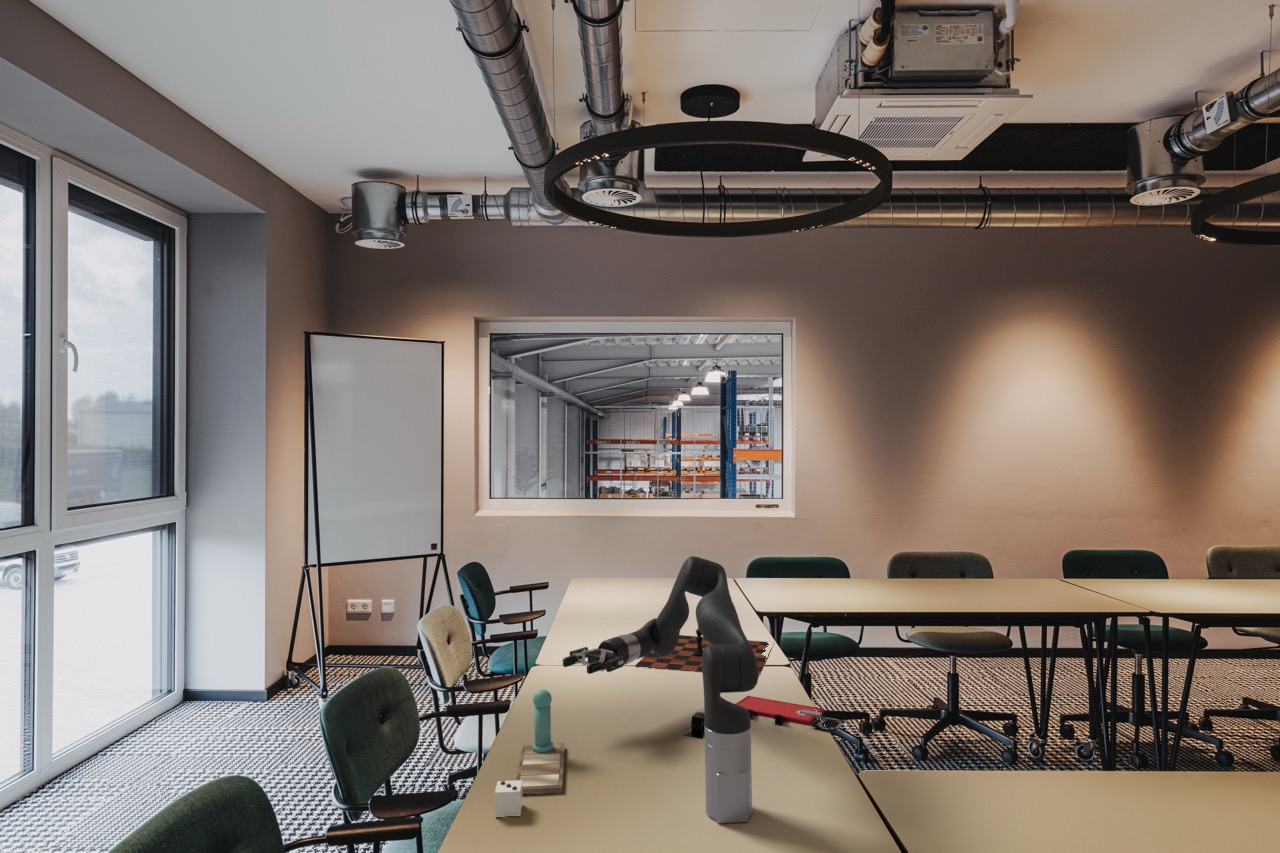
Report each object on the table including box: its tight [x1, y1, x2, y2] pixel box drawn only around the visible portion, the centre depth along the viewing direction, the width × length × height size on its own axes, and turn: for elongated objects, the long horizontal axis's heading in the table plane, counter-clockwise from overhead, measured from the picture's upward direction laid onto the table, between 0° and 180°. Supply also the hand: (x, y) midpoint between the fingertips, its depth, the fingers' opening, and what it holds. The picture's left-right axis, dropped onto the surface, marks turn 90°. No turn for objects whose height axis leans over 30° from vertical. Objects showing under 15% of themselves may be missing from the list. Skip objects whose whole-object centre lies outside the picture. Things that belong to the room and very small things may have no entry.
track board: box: [515, 742, 566, 795], centre depth 176 cm, size 24×10×1 cm, turn 4°
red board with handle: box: [735, 695, 847, 732], centre depth 207 cm, size 30×3×15 cm
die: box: [494, 780, 523, 817], centre depth 157 cm, size 5×5×6 cm
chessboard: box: [634, 627, 769, 678], centre depth 266 cm, size 40×40×11 cm
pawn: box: [532, 689, 554, 753], centre depth 184 cm, size 5×5×14 cm
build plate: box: [682, 711, 705, 740], centre depth 198 cm, size 12×7×5 cm, turn 152°
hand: (575, 666), depth 193 cm, fingers open, 8 cm apart
